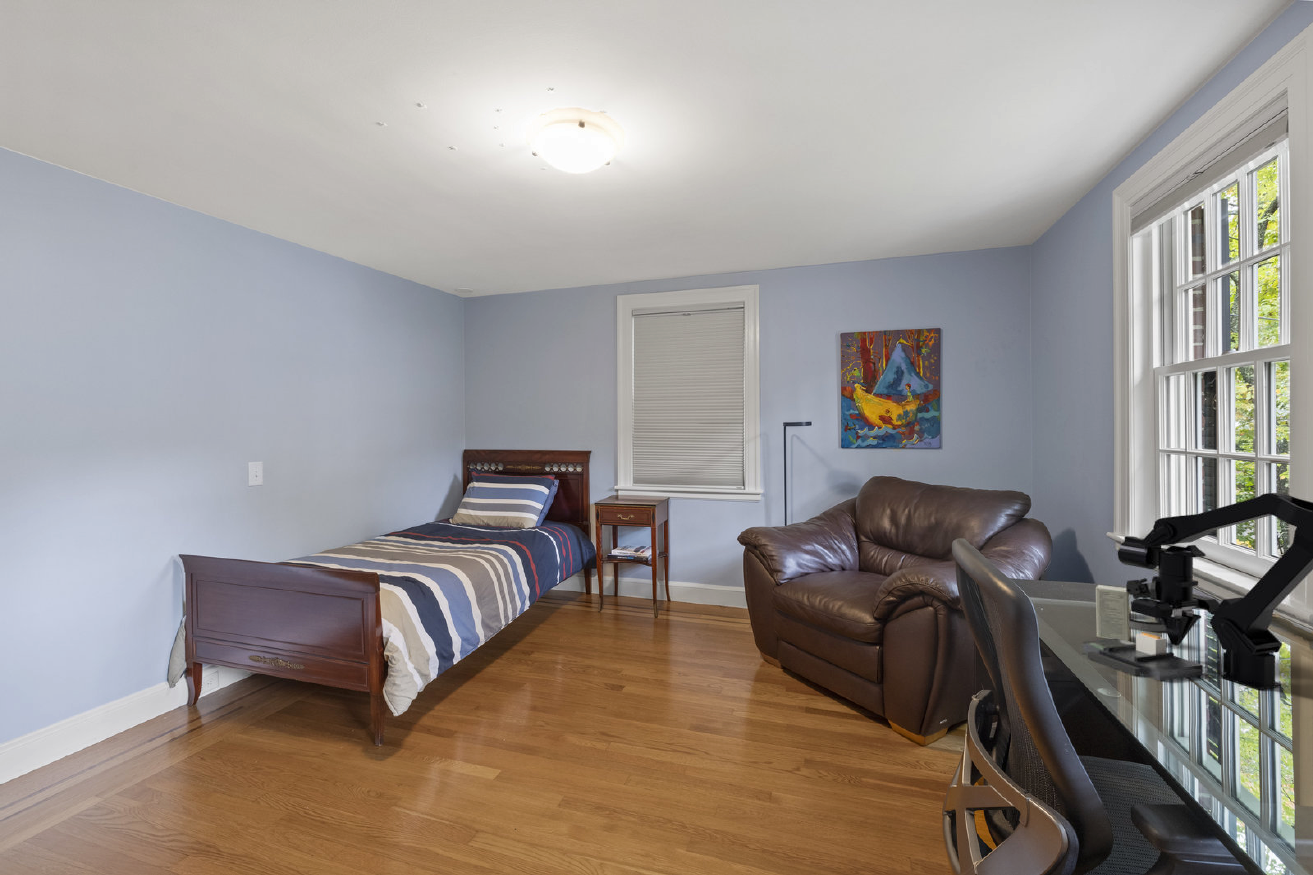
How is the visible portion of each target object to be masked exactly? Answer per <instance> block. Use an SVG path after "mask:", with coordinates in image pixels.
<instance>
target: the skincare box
mask: <svg viewBox="0 0 1313 875" xmlns="http://www.w3.org/2000/svg"><path fill="white" fill-rule="evenodd" d="M1095 612H1096V613H1095V616H1096V637H1098V638H1100V639H1101V638H1102V639H1115V638H1117V639H1123V640H1126V641H1130V639H1131V638H1130V637H1131V635H1130V632H1131V631H1130V630H1131V629H1130V626H1129V619H1130V594H1128V592H1127V591H1126V587H1121V586H1120V587H1119V586H1111V585H1110V586H1109V585H1102V584H1097V585H1096V587H1095Z"/></svg>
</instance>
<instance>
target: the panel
mask: <svg viewBox="0 0 1313 875" xmlns="http://www.w3.org/2000/svg"><path fill="white" fill-rule="evenodd" d="M1081 647H1082V649H1081V650H1082V654H1086V655H1087V654H1088V652H1092V651H1093V652H1095V653H1098V654H1101V655H1104V656H1107V657H1109V658H1112V659H1115V660H1118V661H1121V662H1123V663H1126V664H1129V665H1132V666H1134V667H1137V668H1140V675H1141V676H1142V675H1143V676H1144V677H1145V676H1146V677H1147V678H1148V677H1149V678H1151V679H1153V680H1156V681H1159V682H1160V681H1168V680H1169V681H1170V680H1175V679H1181V678H1182V679H1183V678H1189V677H1196V676H1197V677H1198V676H1203V675H1204V674H1203V672H1204V665H1203V664H1200V663H1197V662H1194V661H1191V660H1189V659H1185V658H1182V657H1180V656H1179V657H1178V656H1176V655H1175V653H1174V652H1171V651H1170V652H1166V653H1161V654H1153V655H1150V654H1147V653H1144V652H1141V651H1138V650H1136V642H1131V641H1130V640H1129V641H1126V640H1123V639H1120V640H1111V641H1103V642H1094V643H1085V644H1083V643H1082V646H1081Z"/></svg>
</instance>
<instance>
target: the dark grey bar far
mask: <svg viewBox="0 0 1313 875" xmlns="http://www.w3.org/2000/svg"><path fill="white" fill-rule="evenodd" d="M1111 640H1120V639H1117V638H1115V639H1107V638H1105V639H1099V640H1098V639H1097V640H1090V641H1083V643H1082V644H1085V643H1094V642H1103V641H1111Z"/></svg>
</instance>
